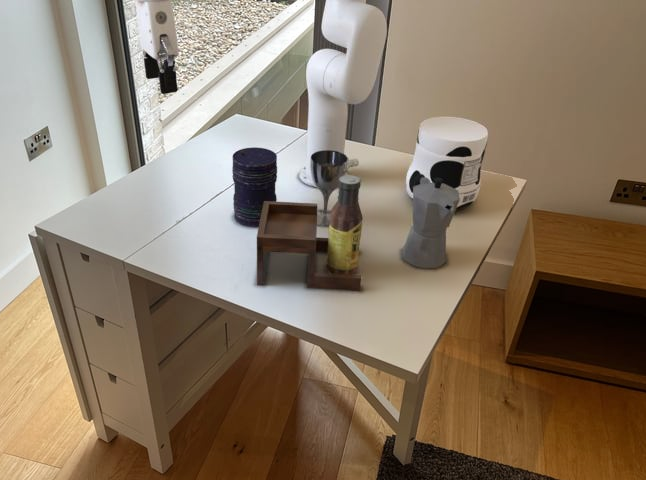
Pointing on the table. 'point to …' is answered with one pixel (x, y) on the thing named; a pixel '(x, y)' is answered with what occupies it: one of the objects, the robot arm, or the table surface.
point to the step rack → (297, 242)
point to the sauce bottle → (345, 228)
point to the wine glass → (327, 177)
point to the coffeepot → (430, 222)
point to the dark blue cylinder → (253, 183)
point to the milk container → (450, 155)
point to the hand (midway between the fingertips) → (161, 85)
